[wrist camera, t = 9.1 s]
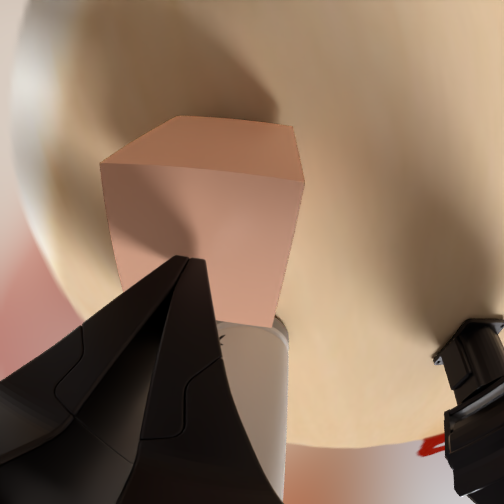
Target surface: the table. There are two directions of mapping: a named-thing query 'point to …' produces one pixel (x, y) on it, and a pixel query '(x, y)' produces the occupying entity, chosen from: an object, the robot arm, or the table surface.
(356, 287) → the table surface
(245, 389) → the travel mug
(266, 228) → the pink foam cube
